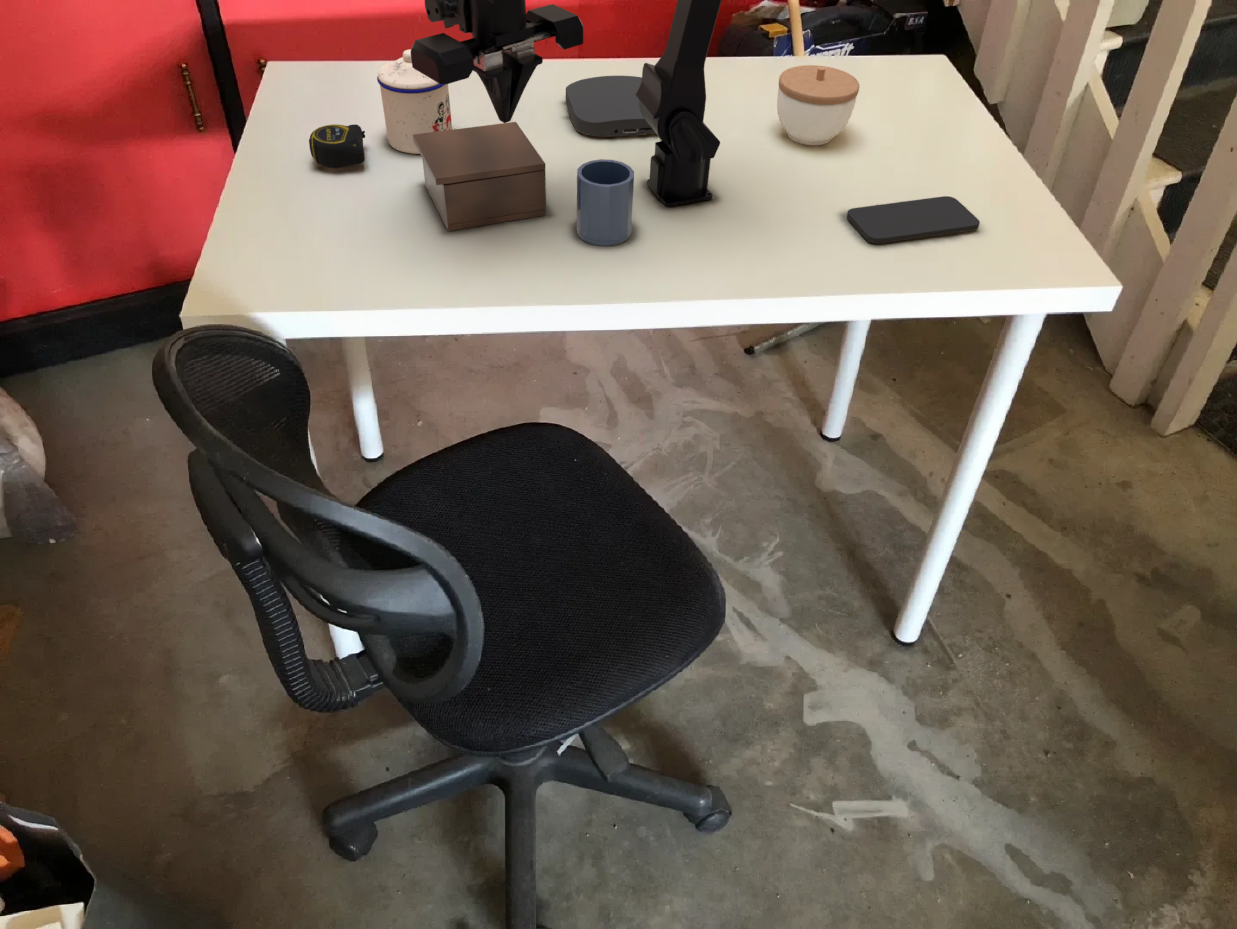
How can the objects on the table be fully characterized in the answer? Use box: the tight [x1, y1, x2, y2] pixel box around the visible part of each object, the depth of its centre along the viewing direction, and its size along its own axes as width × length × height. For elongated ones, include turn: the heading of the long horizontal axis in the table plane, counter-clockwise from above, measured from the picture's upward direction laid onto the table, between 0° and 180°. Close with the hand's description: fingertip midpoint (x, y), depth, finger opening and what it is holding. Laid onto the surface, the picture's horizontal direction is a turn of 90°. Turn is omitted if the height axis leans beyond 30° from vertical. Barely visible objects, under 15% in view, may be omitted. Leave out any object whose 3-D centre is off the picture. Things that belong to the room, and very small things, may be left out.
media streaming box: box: [565, 75, 657, 137], centre depth 132 cm, size 15×15×3 cm
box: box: [421, 157, 547, 232], centre depth 113 cm, size 12×12×6 cm
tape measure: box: [308, 123, 366, 169], centre depth 119 cm, size 7×7×4 cm
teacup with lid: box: [376, 48, 453, 155], centre depth 123 cm, size 12×9×12 cm
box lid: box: [413, 121, 546, 185], centre depth 110 cm, size 13×12×1 cm
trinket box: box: [776, 64, 860, 147], centre depth 128 cm, size 11×11×9 cm
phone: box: [846, 195, 981, 245], centre depth 114 cm, size 7×1×15 cm
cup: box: [576, 158, 635, 247], centre depth 108 cm, size 6×6×8 cm
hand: (504, 120), depth 105 cm, fingers closed
